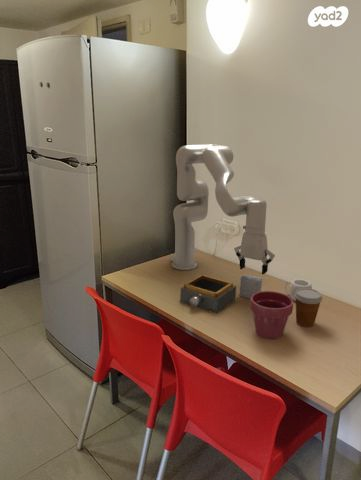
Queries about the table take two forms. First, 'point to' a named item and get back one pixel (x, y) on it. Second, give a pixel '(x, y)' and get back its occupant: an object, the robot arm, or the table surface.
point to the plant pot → (271, 313)
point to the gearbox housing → (208, 293)
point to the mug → (297, 286)
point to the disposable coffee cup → (307, 306)
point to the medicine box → (250, 285)
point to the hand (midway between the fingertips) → (253, 270)
